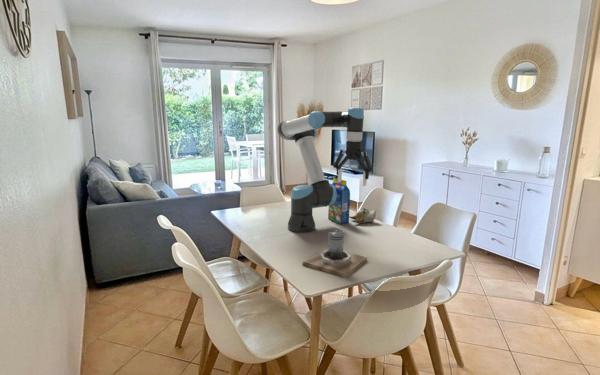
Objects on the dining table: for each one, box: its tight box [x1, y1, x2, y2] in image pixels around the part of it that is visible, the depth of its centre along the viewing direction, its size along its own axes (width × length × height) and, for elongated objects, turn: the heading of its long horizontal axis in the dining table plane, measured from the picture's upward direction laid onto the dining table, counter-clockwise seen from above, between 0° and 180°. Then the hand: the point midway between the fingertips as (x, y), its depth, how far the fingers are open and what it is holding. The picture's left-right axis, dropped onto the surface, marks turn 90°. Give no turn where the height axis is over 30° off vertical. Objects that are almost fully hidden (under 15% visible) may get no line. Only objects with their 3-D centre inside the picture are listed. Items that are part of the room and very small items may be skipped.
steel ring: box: [320, 250, 351, 266], centre depth 150 cm, size 12×12×2 cm
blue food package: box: [327, 177, 351, 225], centre depth 207 cm, size 6×12×25 cm, turn 33°
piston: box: [327, 229, 345, 260], centre depth 149 cm, size 6×6×12 cm
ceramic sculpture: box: [349, 208, 377, 224], centre depth 207 cm, size 11×9×15 cm
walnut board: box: [302, 247, 368, 278], centre depth 151 cm, size 20×20×2 cm
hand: (351, 183), depth 176 cm, fingers open, 13 cm apart
